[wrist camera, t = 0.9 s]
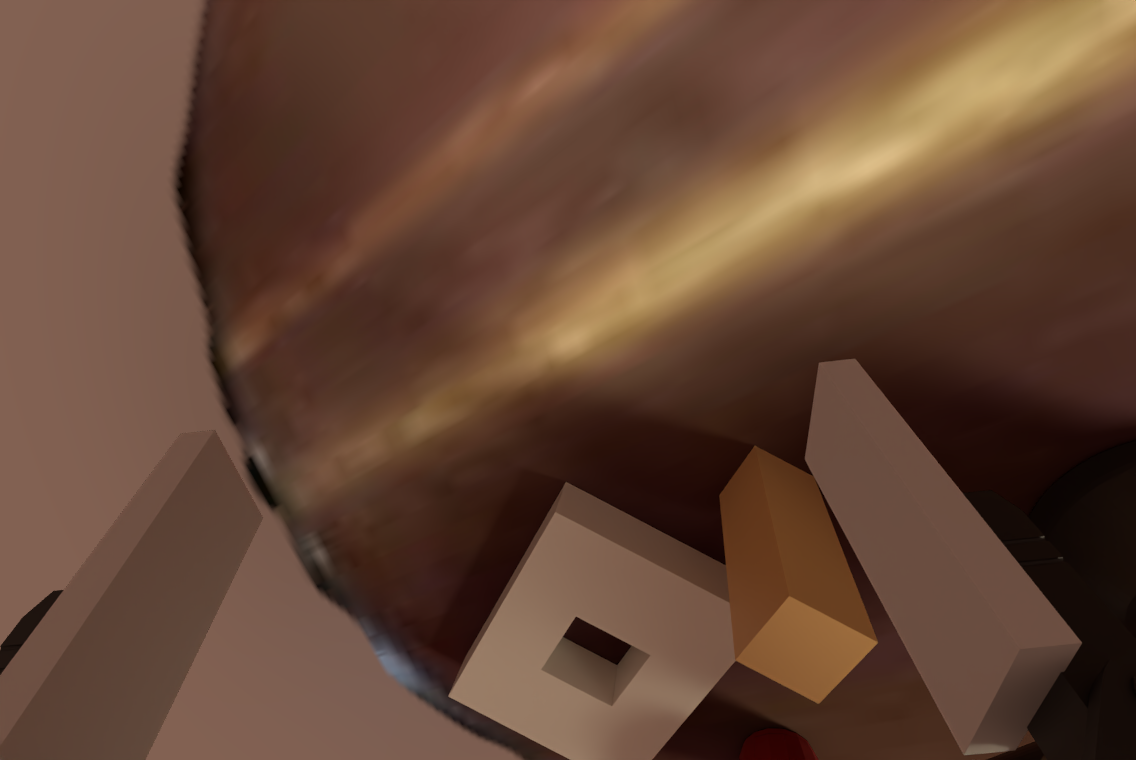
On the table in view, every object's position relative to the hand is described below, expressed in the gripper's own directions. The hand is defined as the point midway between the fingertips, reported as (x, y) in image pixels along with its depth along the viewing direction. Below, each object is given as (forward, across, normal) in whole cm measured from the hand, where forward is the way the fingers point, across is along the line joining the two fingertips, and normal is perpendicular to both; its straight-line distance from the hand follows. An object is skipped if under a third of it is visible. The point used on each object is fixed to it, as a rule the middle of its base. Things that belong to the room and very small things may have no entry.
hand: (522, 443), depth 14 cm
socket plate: (+19, -1, +35) cm, 39 cm away
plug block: (+20, -13, +22) cm, 32 cm away
